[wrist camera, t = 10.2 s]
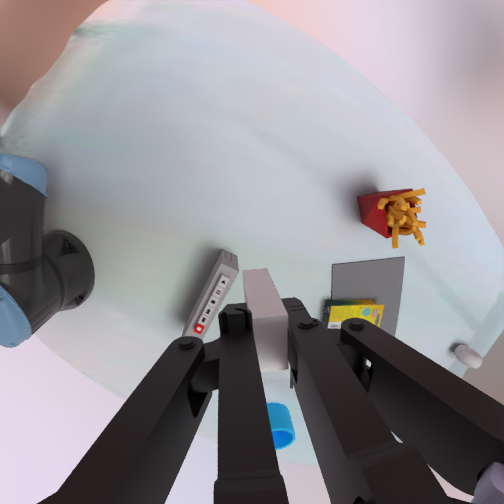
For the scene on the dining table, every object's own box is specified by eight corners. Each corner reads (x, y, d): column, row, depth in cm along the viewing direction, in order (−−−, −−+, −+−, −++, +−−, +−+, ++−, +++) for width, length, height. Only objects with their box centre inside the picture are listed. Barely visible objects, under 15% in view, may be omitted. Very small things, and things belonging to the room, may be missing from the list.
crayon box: (319, 333, 51) (371, 331, 52) (324, 341, 49) (377, 338, 50) (325, 299, 50) (379, 298, 51) (331, 305, 47) (386, 304, 48)
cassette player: (198, 329, 50) (193, 359, 40) (185, 323, 49) (176, 352, 39) (237, 255, 47) (239, 273, 37) (222, 248, 47) (220, 265, 37)
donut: (446, 351, 57) (467, 370, 48) (452, 340, 57) (474, 358, 47) (463, 354, 59) (482, 371, 49) (468, 344, 58) (489, 360, 49)
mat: (327, 356, 53) (328, 357, 53) (332, 264, 49) (332, 264, 48) (392, 342, 54) (393, 343, 54) (404, 256, 50) (404, 257, 49)
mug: (262, 399, 55) (266, 425, 47) (294, 405, 56) (302, 430, 48) (242, 431, 57) (244, 456, 49) (273, 436, 58) (277, 460, 50)
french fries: (382, 185, 46) (434, 188, 31) (389, 228, 48) (440, 244, 33) (341, 195, 46) (385, 201, 31) (350, 240, 48) (394, 262, 33)
